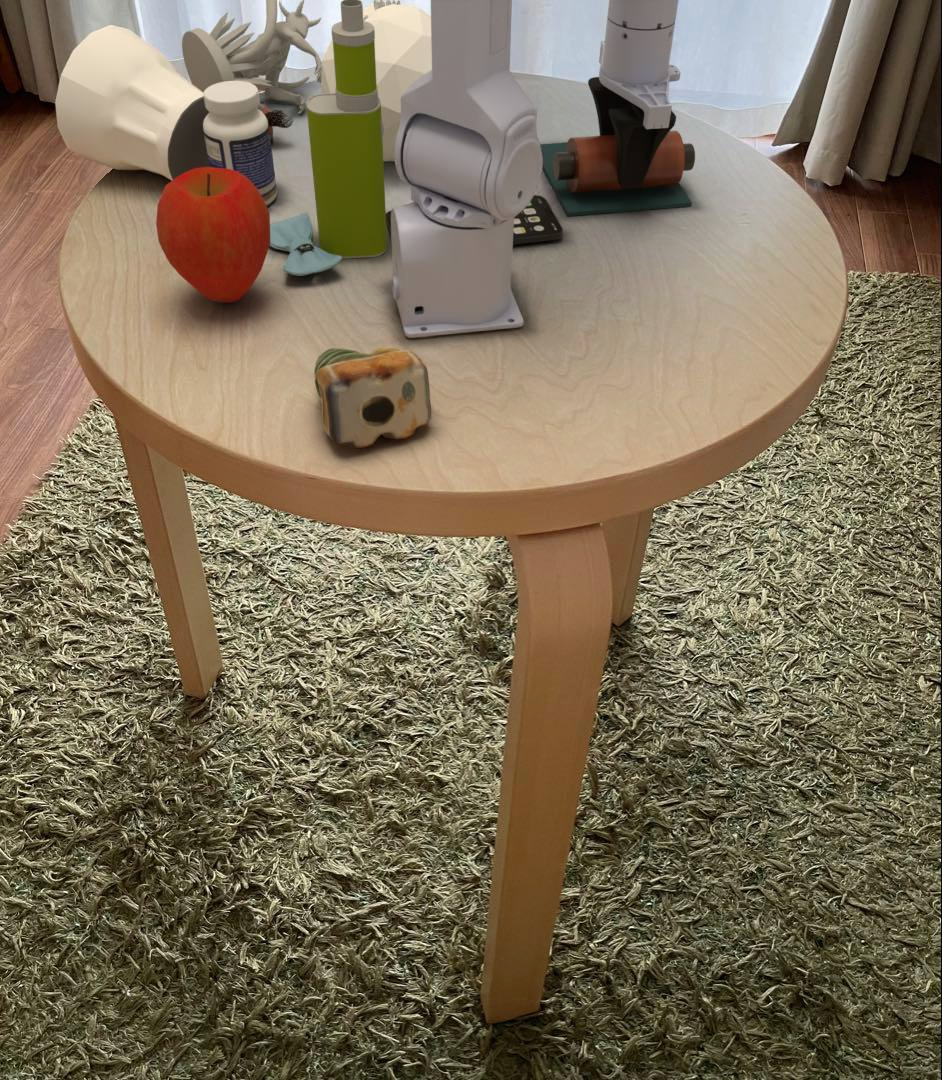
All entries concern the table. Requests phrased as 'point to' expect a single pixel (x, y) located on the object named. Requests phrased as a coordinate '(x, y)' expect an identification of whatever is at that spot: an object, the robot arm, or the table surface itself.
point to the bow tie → (300, 246)
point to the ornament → (372, 394)
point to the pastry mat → (609, 193)
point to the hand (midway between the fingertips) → (622, 171)
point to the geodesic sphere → (391, 60)
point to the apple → (214, 231)
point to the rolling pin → (596, 163)
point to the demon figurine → (250, 53)
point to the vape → (349, 145)
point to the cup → (130, 107)
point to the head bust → (278, 122)
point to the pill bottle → (239, 134)
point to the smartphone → (529, 223)
